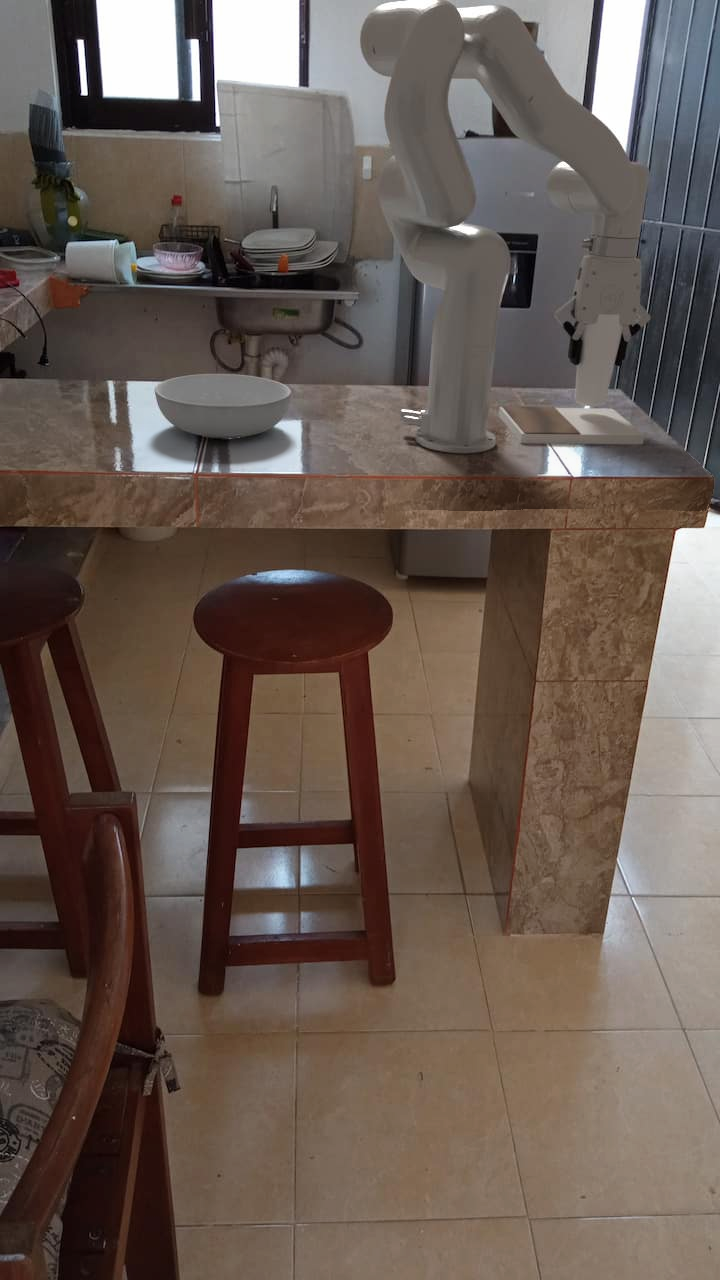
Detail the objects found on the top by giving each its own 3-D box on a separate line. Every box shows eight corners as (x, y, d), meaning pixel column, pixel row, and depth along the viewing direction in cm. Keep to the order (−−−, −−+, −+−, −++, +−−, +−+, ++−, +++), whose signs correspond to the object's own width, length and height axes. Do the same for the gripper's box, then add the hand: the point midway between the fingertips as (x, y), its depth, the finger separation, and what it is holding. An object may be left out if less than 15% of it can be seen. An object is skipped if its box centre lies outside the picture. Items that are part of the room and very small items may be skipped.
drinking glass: (603, 410, 164) (618, 316, 157) (563, 403, 167) (577, 310, 160) (614, 402, 170) (630, 310, 163) (576, 396, 172) (590, 305, 165)
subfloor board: (520, 443, 158) (521, 434, 157) (498, 415, 172) (499, 407, 171) (642, 444, 160) (644, 435, 159) (611, 417, 174) (612, 408, 173)
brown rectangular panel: (523, 442, 158) (524, 432, 157) (501, 415, 172) (502, 406, 171) (578, 443, 159) (580, 433, 158) (552, 416, 173) (553, 406, 172)
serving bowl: (305, 447, 152) (306, 402, 149) (167, 455, 146) (164, 408, 143) (273, 411, 170) (273, 370, 166) (149, 416, 164) (146, 374, 160)
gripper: (565, 249, 153) (550, 367, 161) (674, 253, 155) (653, 370, 163) (552, 243, 159) (538, 357, 168) (657, 247, 161) (638, 360, 170)
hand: (595, 362), depth 165 cm, fingers closed on drinking glass, 6 cm apart
